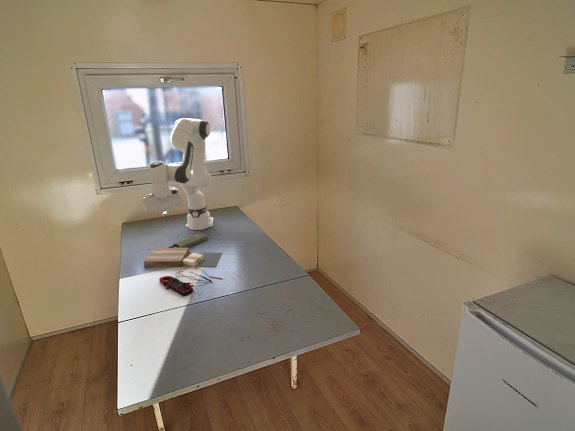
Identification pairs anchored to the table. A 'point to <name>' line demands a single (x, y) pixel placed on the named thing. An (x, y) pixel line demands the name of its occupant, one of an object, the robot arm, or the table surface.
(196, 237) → the handheld radio
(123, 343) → the table surface
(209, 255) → the mat
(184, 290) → the digital clamp meter
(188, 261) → the tile
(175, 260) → the platform
